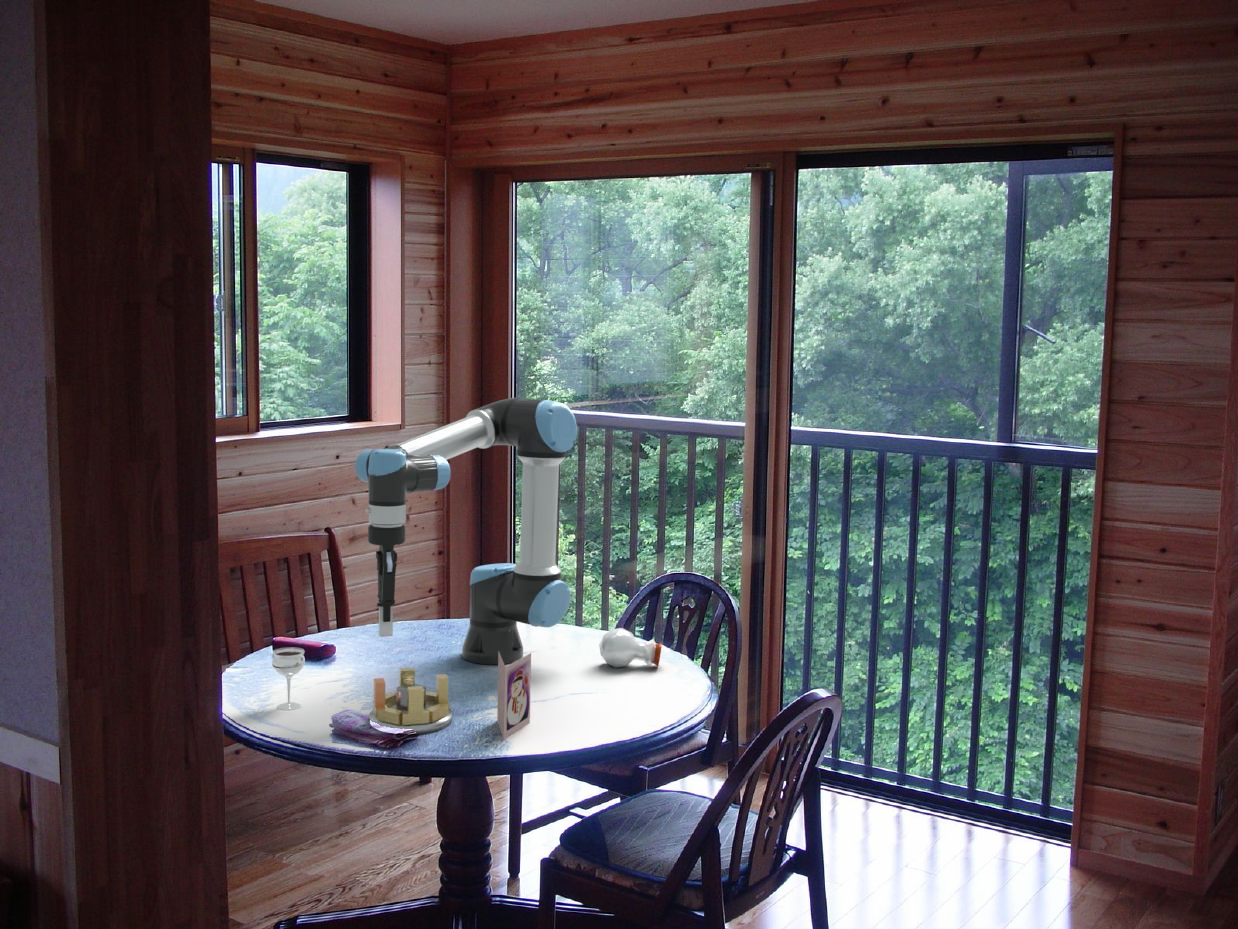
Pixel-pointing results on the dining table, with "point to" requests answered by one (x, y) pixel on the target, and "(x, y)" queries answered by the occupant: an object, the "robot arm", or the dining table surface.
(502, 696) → the greeting card
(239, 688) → the dining table surface
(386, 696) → the gold crown
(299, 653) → the wineglass
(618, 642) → the potion bottle
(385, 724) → the silver round piece
